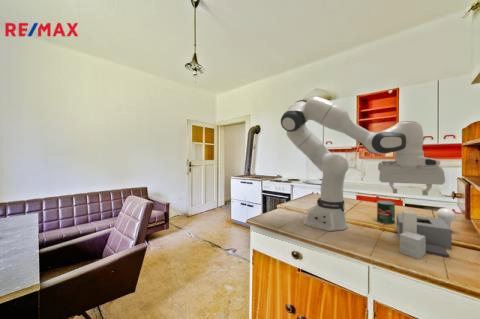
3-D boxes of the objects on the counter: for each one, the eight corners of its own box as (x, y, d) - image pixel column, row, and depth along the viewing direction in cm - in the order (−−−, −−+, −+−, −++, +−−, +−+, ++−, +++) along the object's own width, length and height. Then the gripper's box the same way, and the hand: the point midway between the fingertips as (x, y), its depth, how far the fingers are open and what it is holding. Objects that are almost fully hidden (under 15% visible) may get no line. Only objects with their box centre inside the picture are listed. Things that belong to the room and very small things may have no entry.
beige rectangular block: (403, 246, 80) (403, 213, 79) (402, 242, 83) (402, 210, 82) (416, 248, 77) (416, 214, 77) (415, 244, 81) (415, 212, 80)
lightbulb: (452, 234, 88) (452, 211, 87) (433, 229, 94) (433, 207, 93) (458, 231, 90) (458, 209, 90) (440, 227, 96) (440, 205, 96)
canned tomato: (378, 223, 105) (378, 203, 104) (376, 218, 112) (375, 200, 111) (396, 225, 101) (396, 204, 100) (393, 220, 108) (392, 201, 107)
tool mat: (423, 252, 75) (423, 250, 75) (419, 245, 80) (419, 242, 80) (449, 257, 70) (449, 255, 70) (443, 249, 76) (443, 246, 76)
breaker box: (399, 239, 85) (399, 222, 85) (396, 228, 97) (396, 213, 96) (451, 249, 76) (451, 229, 76) (441, 235, 87) (441, 218, 87)
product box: (406, 248, 79) (406, 230, 78) (426, 254, 73) (426, 236, 73) (399, 252, 76) (399, 234, 75) (419, 259, 70) (419, 240, 70)
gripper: (378, 161, 82) (378, 193, 83) (446, 161, 70) (446, 198, 71) (377, 160, 87) (378, 190, 88) (441, 159, 76) (441, 194, 76)
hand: (409, 193), depth 79 cm, fingers open, 8 cm apart
